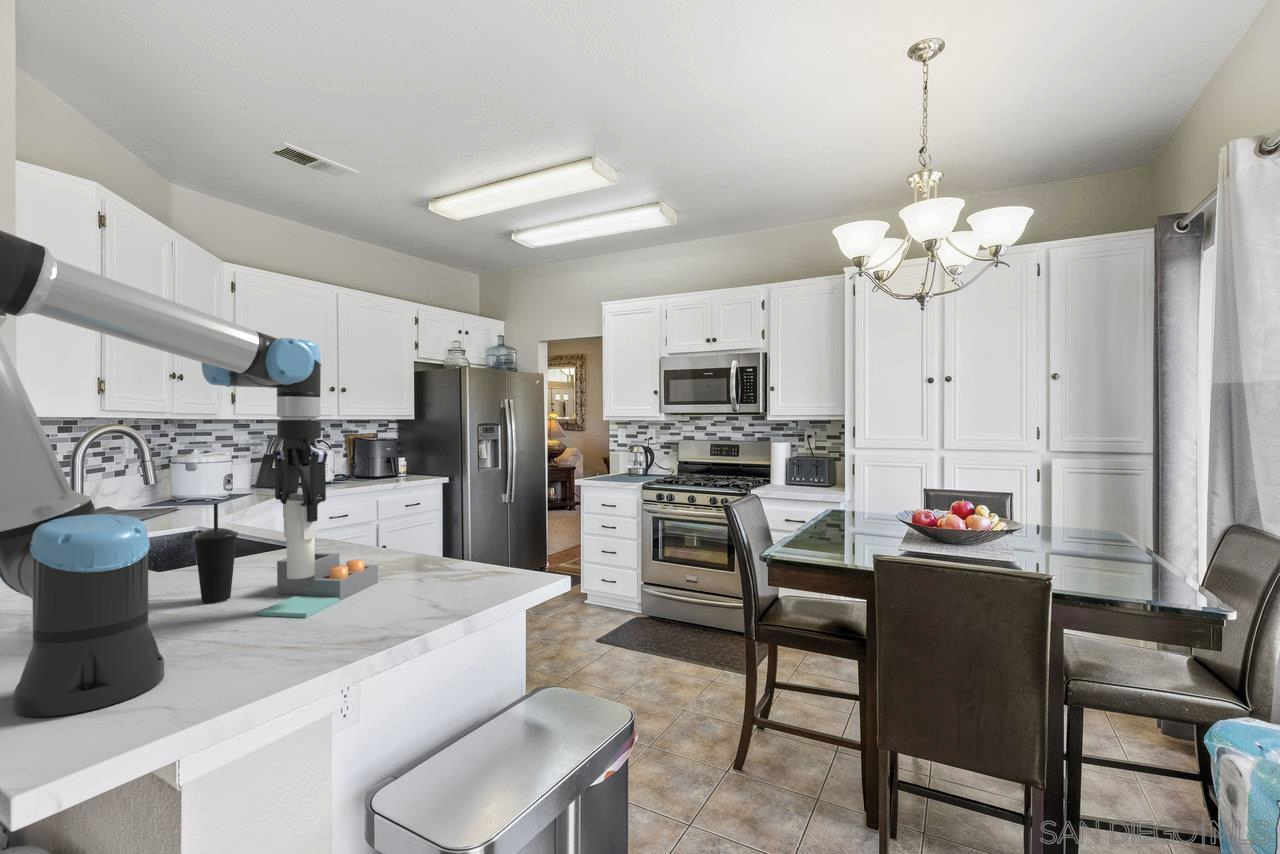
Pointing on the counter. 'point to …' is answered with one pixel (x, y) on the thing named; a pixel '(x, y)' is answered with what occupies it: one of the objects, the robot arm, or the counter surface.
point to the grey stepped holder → (326, 579)
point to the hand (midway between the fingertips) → (300, 536)
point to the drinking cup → (215, 561)
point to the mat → (299, 606)
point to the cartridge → (298, 542)
